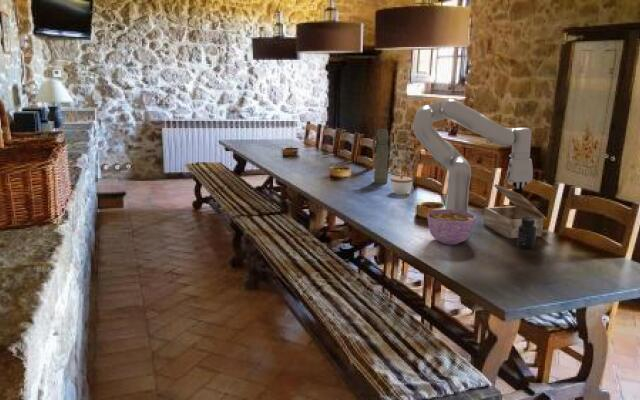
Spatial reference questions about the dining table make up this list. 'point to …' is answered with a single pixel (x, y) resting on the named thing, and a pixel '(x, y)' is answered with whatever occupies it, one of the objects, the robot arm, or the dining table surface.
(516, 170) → the robot arm
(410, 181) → the lidded bowl
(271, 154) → the dining table surface
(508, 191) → the lid
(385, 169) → the thermos
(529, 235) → the supplement bottle
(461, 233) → the bowl of food
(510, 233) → the box
